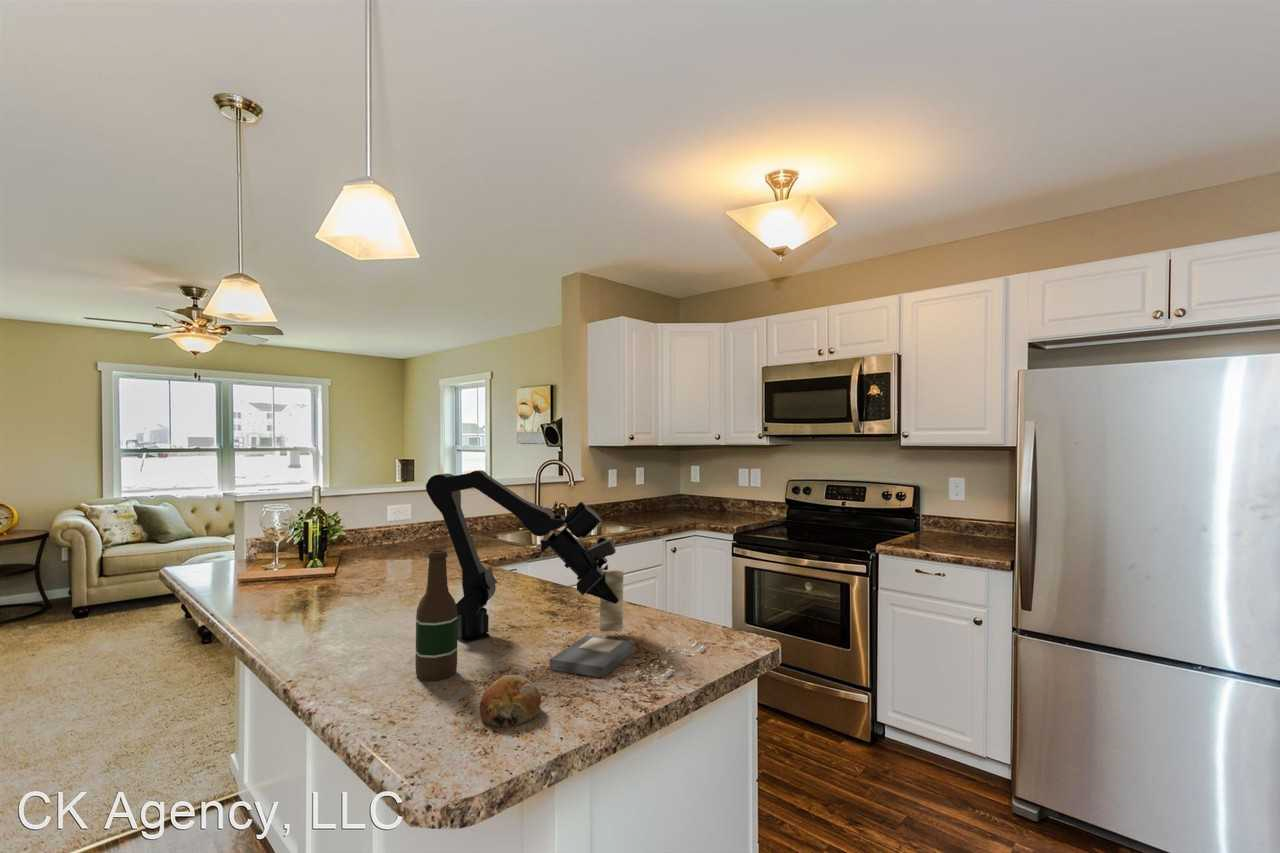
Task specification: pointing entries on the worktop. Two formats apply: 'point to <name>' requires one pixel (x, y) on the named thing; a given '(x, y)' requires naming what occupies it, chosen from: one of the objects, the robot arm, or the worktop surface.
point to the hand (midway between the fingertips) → (617, 599)
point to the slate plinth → (593, 656)
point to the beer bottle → (436, 624)
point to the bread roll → (510, 701)
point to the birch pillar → (609, 611)
